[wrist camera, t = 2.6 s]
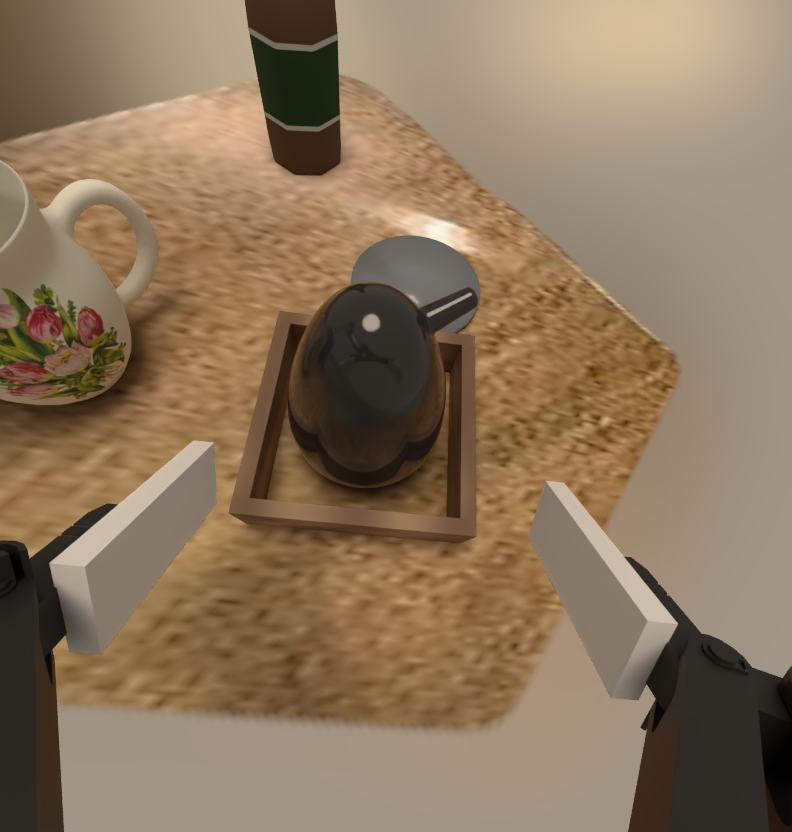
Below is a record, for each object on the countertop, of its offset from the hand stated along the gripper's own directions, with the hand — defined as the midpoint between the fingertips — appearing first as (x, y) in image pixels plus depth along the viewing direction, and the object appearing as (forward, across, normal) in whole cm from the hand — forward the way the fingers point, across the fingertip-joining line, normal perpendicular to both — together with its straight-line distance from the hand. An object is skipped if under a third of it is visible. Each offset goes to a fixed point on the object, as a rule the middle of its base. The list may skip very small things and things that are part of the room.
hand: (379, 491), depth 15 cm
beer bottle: (+37, -11, +19) cm, 43 cm away
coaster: (+25, +2, +7) cm, 26 cm away
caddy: (+14, -1, -4) cm, 15 cm away
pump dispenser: (+14, -1, -4) cm, 15 cm away
